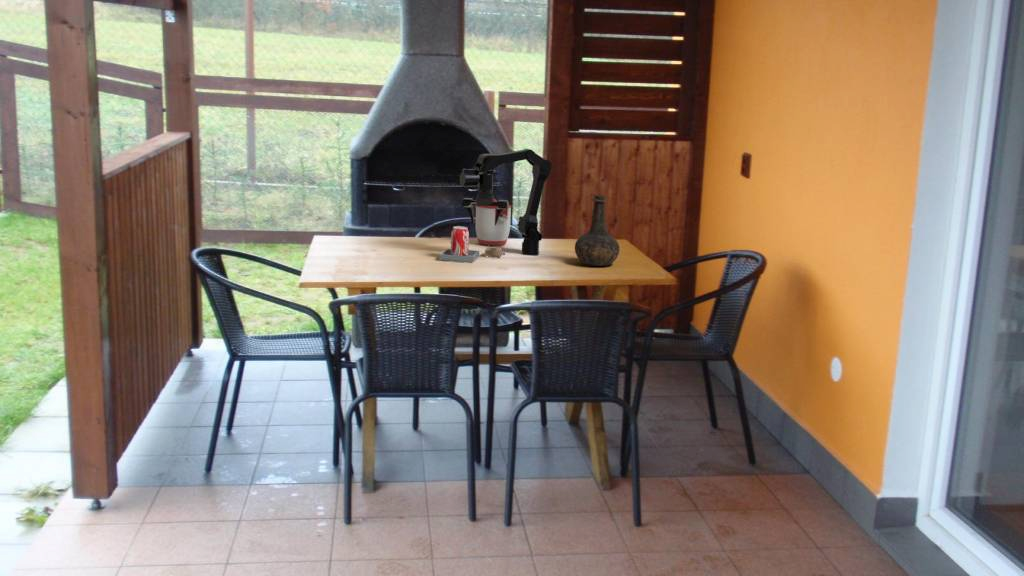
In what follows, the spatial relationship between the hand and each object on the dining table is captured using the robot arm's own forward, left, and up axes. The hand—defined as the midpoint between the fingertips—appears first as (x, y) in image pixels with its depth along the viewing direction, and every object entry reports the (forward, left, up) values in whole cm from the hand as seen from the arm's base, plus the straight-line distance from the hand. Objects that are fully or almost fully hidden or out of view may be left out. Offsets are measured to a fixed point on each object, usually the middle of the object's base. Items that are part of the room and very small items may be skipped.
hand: (484, 224), depth 403 cm
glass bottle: (-46, +2, -13) cm, 48 cm away
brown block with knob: (-4, -2, -13) cm, 14 cm away
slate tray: (+8, +9, -13) cm, 18 cm away
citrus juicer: (0, -28, -13) cm, 31 cm away
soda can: (+8, +8, -13) cm, 17 cm away
